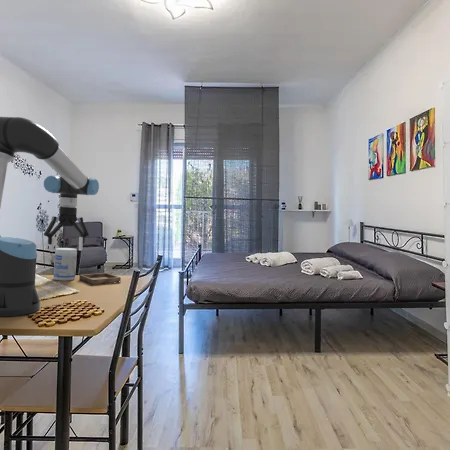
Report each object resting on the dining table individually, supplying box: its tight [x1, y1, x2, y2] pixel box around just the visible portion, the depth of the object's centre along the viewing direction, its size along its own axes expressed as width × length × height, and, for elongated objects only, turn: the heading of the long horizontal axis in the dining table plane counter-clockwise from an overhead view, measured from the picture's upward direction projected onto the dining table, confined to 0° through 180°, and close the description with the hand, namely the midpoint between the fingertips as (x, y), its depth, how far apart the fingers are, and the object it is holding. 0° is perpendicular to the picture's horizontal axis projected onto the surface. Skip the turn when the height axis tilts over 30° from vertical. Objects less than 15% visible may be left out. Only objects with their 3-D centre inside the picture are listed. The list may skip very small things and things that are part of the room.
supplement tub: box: [53, 247, 78, 282], centre depth 168 cm, size 10×10×15 cm
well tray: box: [78, 272, 122, 286], centre depth 169 cm, size 14×14×2 cm
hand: (66, 250), depth 169 cm, fingers open, 13 cm apart
